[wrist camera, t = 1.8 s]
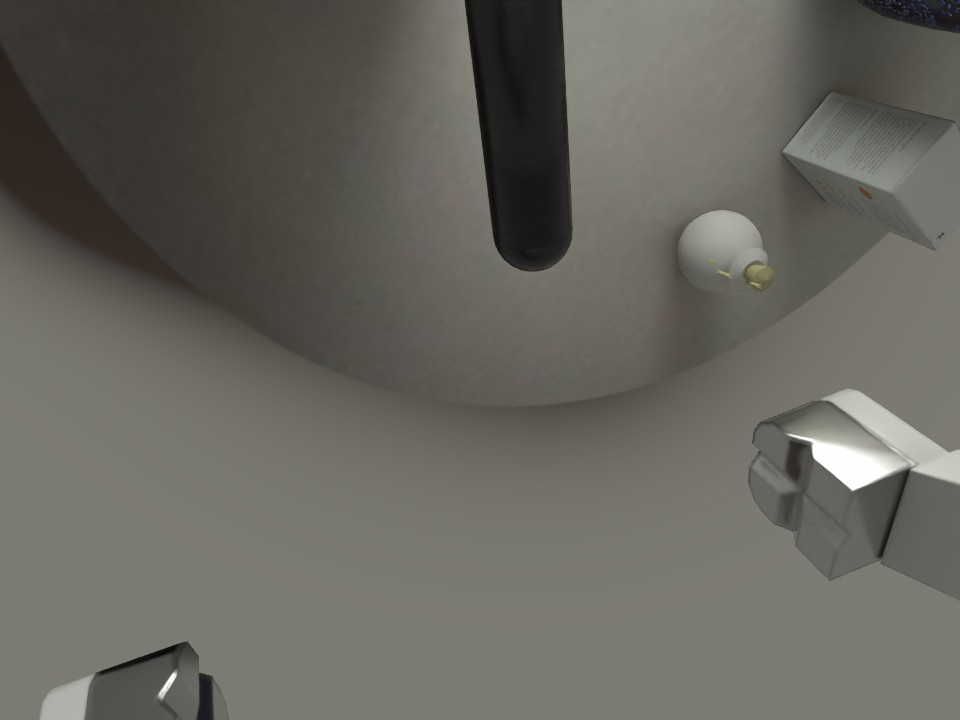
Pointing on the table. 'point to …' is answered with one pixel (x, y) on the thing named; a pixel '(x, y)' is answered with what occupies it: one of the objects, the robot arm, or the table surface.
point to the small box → (883, 166)
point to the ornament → (724, 253)
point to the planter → (920, 12)
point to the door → (523, 126)
